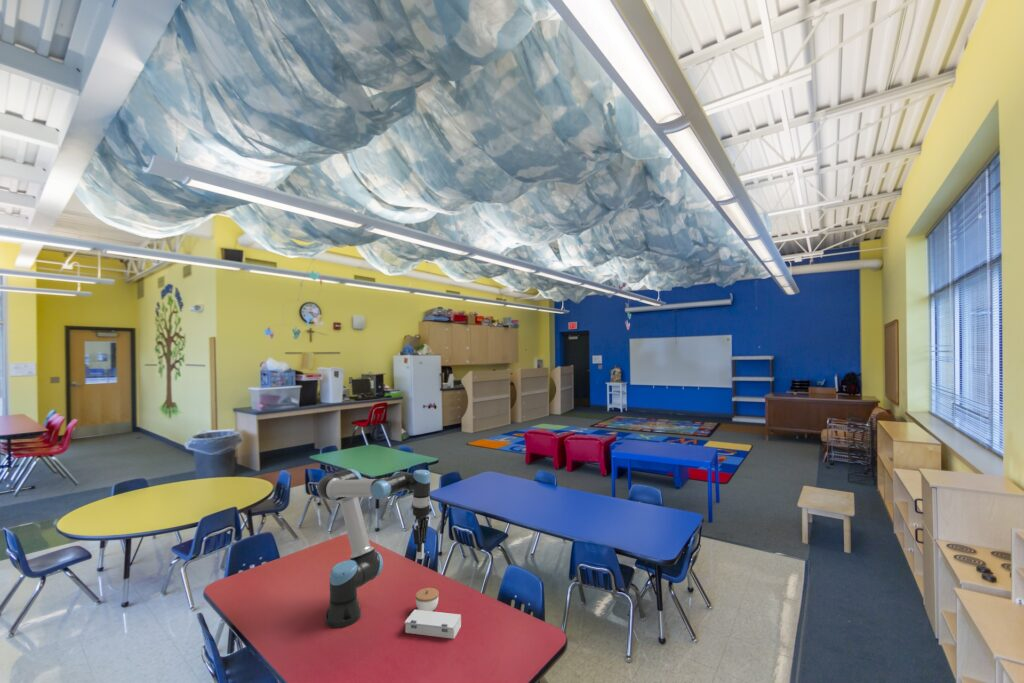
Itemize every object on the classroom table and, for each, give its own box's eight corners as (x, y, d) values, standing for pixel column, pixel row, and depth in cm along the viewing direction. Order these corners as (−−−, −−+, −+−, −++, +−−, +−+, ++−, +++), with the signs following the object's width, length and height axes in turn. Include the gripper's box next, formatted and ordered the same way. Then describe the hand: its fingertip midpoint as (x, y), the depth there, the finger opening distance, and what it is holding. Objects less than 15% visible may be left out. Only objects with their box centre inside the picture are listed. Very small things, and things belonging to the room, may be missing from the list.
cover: (404, 623, 185) (404, 620, 185) (414, 611, 195) (414, 608, 195) (453, 629, 181) (453, 626, 181) (461, 616, 190) (461, 613, 190)
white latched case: (404, 633, 185) (404, 623, 186) (414, 620, 195) (414, 611, 195) (453, 639, 181) (453, 629, 181) (461, 626, 190) (461, 616, 190)
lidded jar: (433, 618, 197) (433, 596, 197) (411, 615, 199) (411, 594, 199) (442, 605, 207) (442, 585, 208) (421, 603, 209) (421, 583, 210)
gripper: (422, 510, 190) (421, 565, 189) (434, 501, 203) (433, 552, 202) (407, 509, 192) (405, 563, 191) (419, 500, 205) (418, 551, 204)
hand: (420, 558), depth 196 cm, fingers closed
